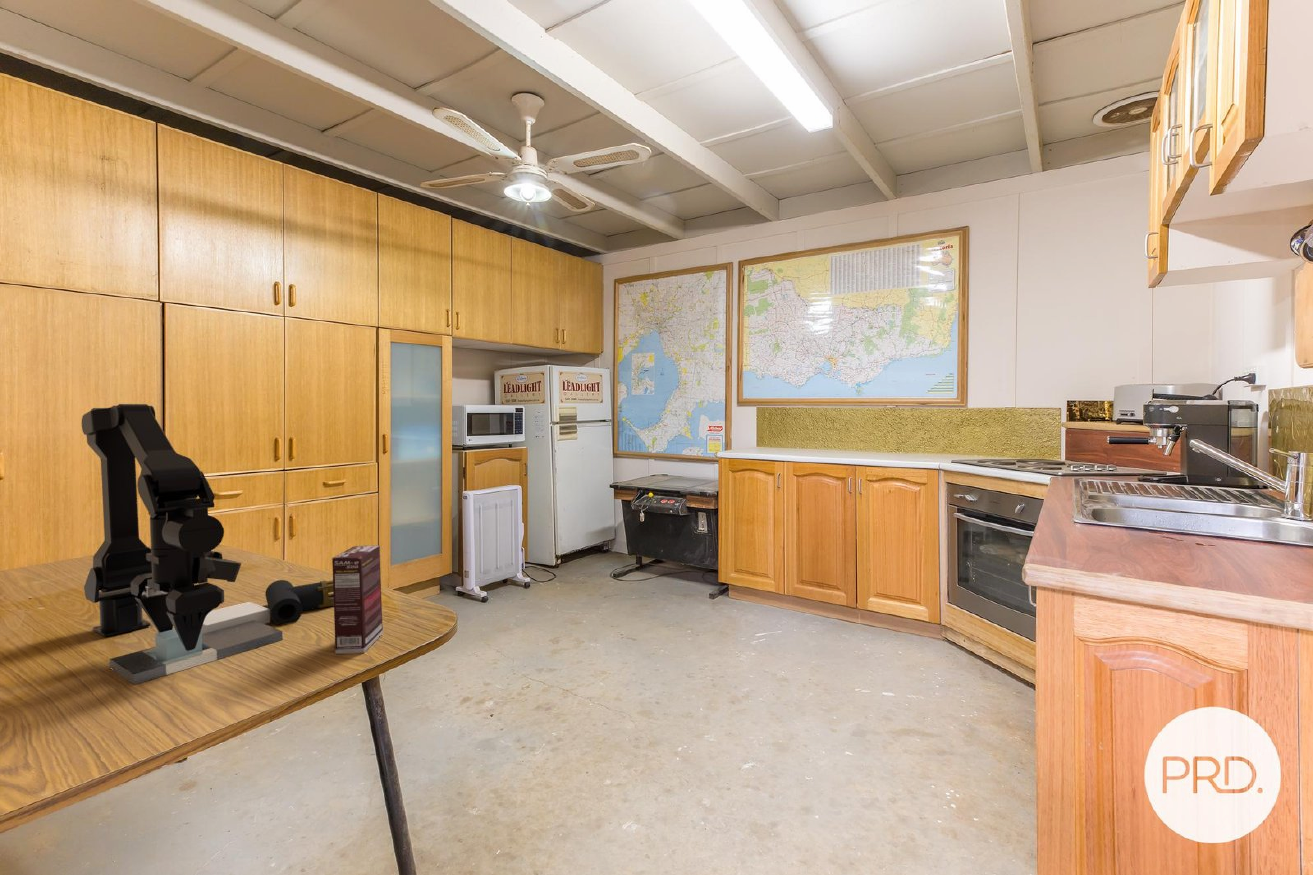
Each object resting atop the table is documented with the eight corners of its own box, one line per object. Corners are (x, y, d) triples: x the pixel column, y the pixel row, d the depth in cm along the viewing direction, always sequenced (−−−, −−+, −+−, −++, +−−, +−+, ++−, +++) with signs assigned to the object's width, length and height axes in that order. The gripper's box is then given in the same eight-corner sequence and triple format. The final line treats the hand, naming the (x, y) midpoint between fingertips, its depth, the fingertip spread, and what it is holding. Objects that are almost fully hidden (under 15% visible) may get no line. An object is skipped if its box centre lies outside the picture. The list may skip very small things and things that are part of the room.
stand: (187, 630, 107) (186, 616, 107) (249, 614, 115) (249, 601, 115) (206, 639, 103) (206, 625, 103) (270, 622, 111) (269, 609, 111)
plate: (109, 668, 91) (109, 659, 91) (254, 628, 108) (254, 620, 108) (134, 684, 86) (133, 674, 86) (282, 639, 103) (282, 631, 103)
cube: (156, 662, 94) (155, 634, 94) (190, 652, 98) (189, 625, 97) (167, 668, 91) (166, 639, 91) (202, 658, 95) (201, 630, 95)
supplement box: (355, 635, 105) (353, 545, 104) (383, 634, 105) (381, 544, 105) (332, 655, 96) (330, 557, 96) (364, 654, 97) (361, 556, 96)
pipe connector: (328, 571, 128) (340, 588, 116) (329, 596, 128) (341, 615, 116) (264, 581, 121) (270, 600, 109) (266, 607, 121) (271, 629, 109)
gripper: (259, 543, 95) (263, 639, 96) (208, 530, 105) (212, 617, 106) (174, 557, 86) (178, 664, 87) (127, 542, 96) (131, 637, 97)
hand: (178, 643), depth 94 cm, fingers open, 9 cm apart
